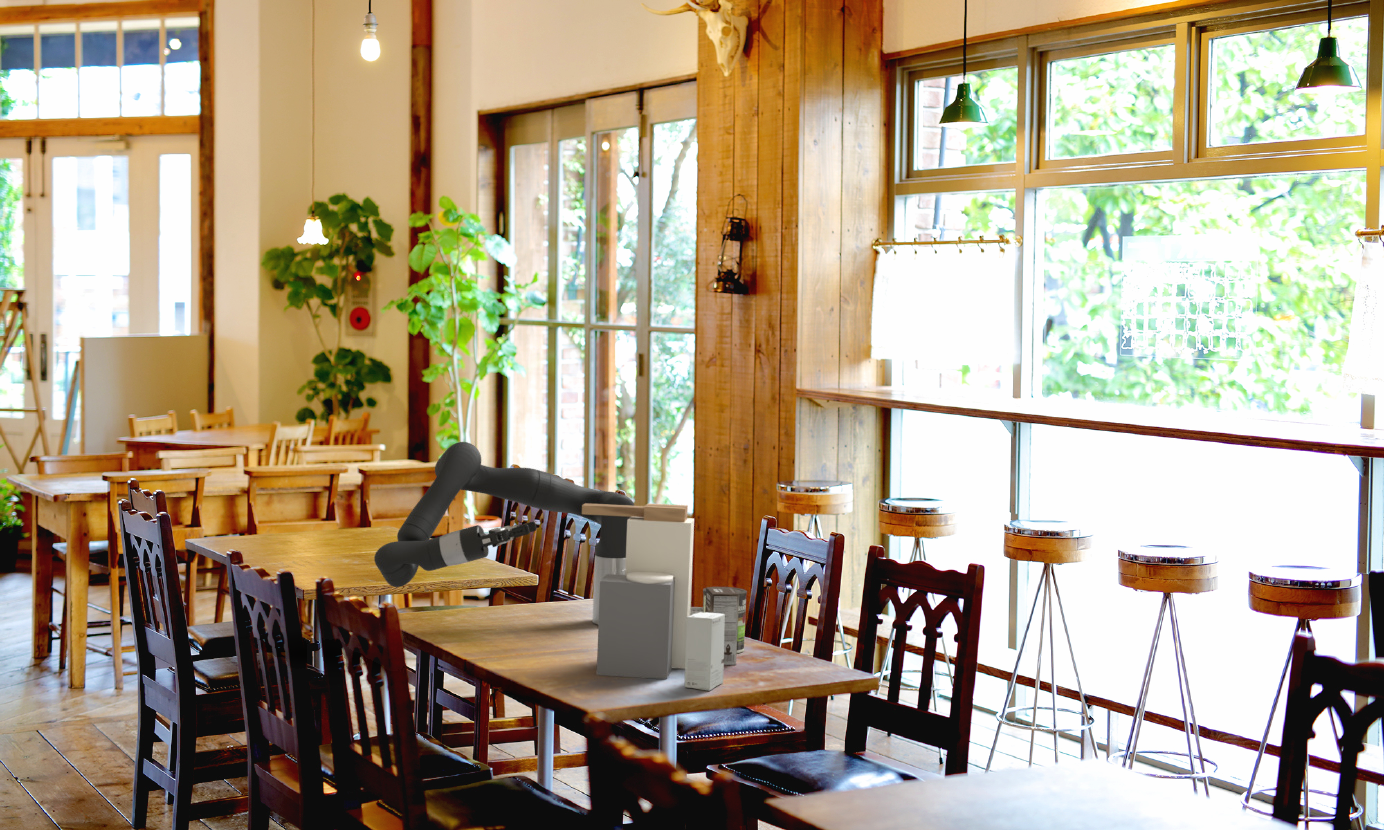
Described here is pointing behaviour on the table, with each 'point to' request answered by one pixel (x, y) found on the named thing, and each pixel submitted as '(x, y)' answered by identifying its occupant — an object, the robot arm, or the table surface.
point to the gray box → (636, 625)
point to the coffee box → (728, 604)
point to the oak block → (640, 511)
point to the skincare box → (704, 650)
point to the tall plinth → (665, 566)
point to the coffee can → (741, 617)
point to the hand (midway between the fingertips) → (532, 527)
